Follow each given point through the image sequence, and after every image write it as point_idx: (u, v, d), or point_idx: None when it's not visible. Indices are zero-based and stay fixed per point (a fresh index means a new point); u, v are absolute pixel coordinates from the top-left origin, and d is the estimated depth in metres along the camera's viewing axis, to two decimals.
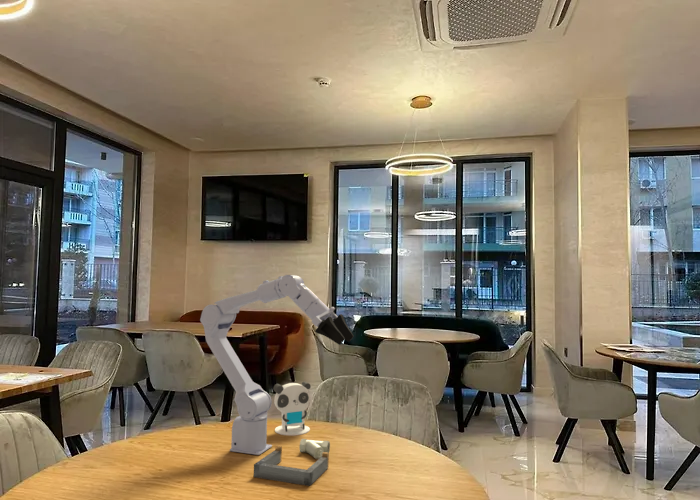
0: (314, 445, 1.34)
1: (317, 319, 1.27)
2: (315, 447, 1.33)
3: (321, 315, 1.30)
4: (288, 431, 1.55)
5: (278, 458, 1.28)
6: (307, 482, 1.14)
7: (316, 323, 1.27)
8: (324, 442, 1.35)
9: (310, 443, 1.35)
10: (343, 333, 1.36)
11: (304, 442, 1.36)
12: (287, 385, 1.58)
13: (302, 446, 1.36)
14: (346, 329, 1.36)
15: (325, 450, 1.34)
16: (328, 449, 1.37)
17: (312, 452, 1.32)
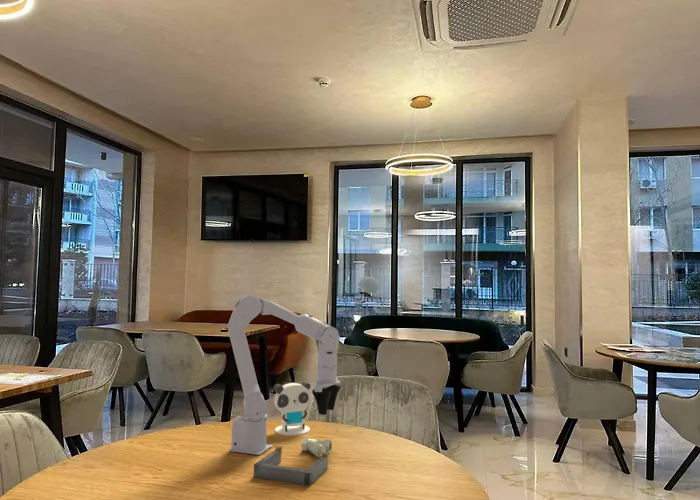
0: (316, 444, 1.35)
1: (319, 388, 1.38)
2: (317, 446, 1.34)
3: (325, 385, 1.40)
4: (288, 431, 1.55)
5: (278, 458, 1.28)
6: (307, 482, 1.14)
7: (316, 390, 1.39)
8: (326, 441, 1.37)
9: (312, 442, 1.36)
10: (328, 400, 1.48)
11: (306, 441, 1.37)
12: (287, 385, 1.58)
13: (304, 445, 1.37)
14: (333, 400, 1.47)
15: (327, 449, 1.35)
16: (330, 448, 1.38)
17: (314, 451, 1.33)
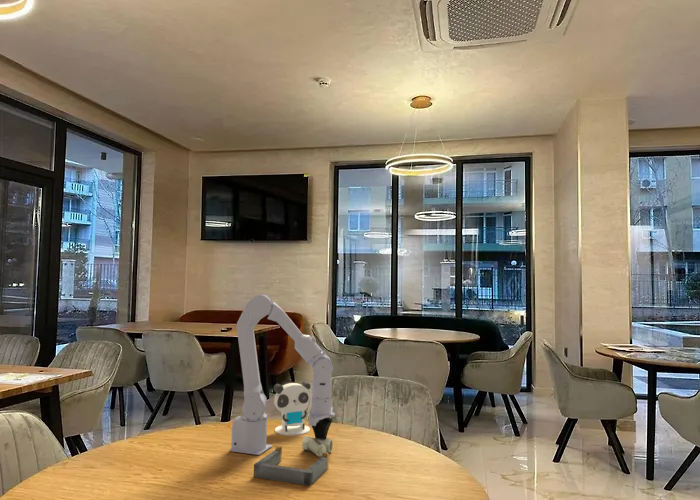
0: (316, 443, 1.35)
1: (313, 422, 1.34)
2: (317, 445, 1.34)
3: (319, 418, 1.36)
4: (288, 431, 1.55)
5: (278, 458, 1.28)
6: (307, 482, 1.14)
7: (310, 423, 1.34)
8: (327, 440, 1.37)
9: (313, 441, 1.36)
10: None
11: (307, 440, 1.38)
12: (287, 385, 1.58)
13: (305, 444, 1.37)
14: None
15: (327, 448, 1.35)
16: (331, 447, 1.38)
17: (314, 450, 1.33)
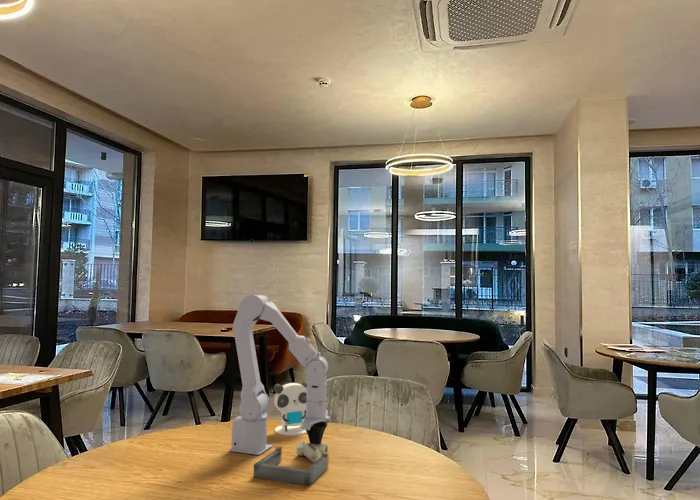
0: (311, 448, 1.31)
1: (307, 426, 1.30)
2: (312, 450, 1.30)
3: (314, 422, 1.32)
4: (288, 431, 1.55)
5: (278, 458, 1.28)
6: (307, 482, 1.14)
7: (304, 427, 1.30)
8: (322, 445, 1.33)
9: (307, 447, 1.32)
10: None
11: (301, 445, 1.34)
12: (287, 385, 1.58)
13: (299, 449, 1.33)
14: None
15: None
16: None
17: (309, 455, 1.29)
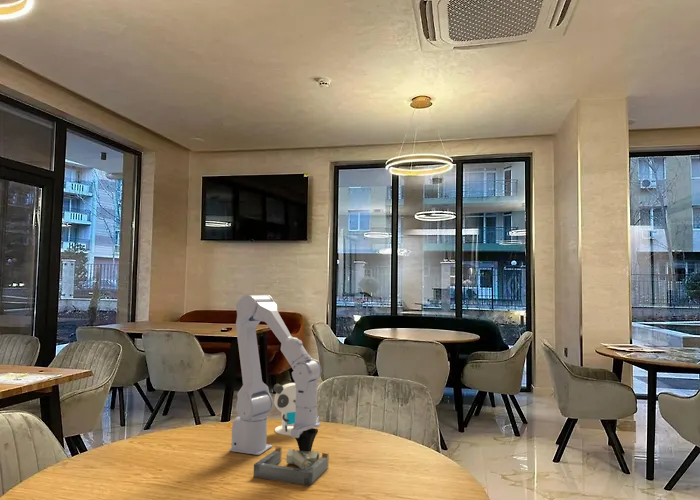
0: (302, 456, 1.24)
1: (296, 433, 1.23)
2: (303, 458, 1.23)
3: (303, 429, 1.25)
4: (288, 431, 1.55)
5: (278, 458, 1.28)
6: (307, 482, 1.14)
7: (293, 435, 1.24)
8: (313, 453, 1.26)
9: (298, 454, 1.25)
10: None
11: (291, 453, 1.27)
12: (287, 385, 1.58)
13: (289, 457, 1.26)
14: None
15: (314, 461, 1.25)
16: None
17: (300, 464, 1.23)
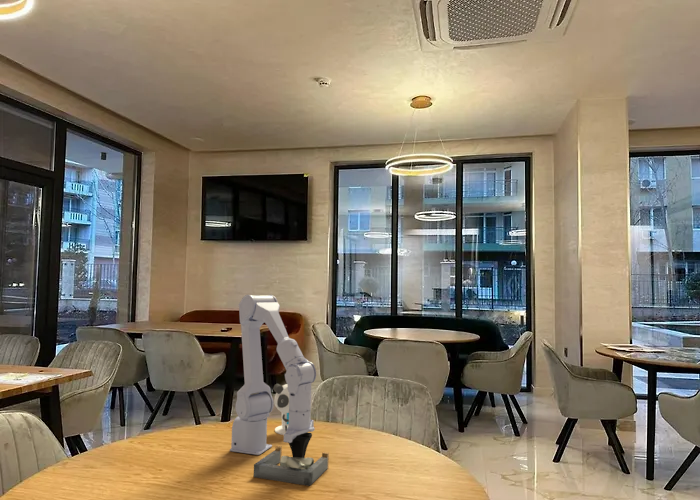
0: (296, 463, 1.20)
1: (289, 438, 1.19)
2: (298, 465, 1.19)
3: (296, 434, 1.21)
4: None
5: (278, 458, 1.28)
6: (307, 482, 1.14)
7: (286, 440, 1.20)
8: (307, 459, 1.22)
9: (292, 461, 1.21)
10: None
11: (285, 459, 1.22)
12: (287, 385, 1.58)
13: (283, 464, 1.22)
14: None
15: None
16: None
17: None
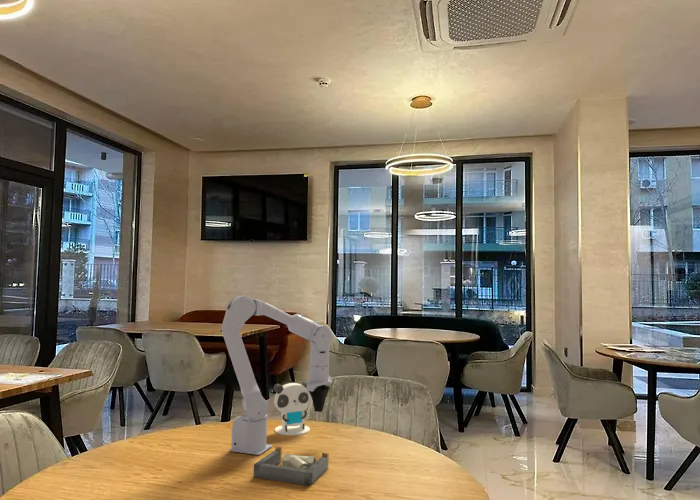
0: (298, 461, 1.21)
1: (311, 387, 1.39)
2: (300, 463, 1.20)
3: (317, 384, 1.41)
4: (288, 431, 1.55)
5: (278, 458, 1.28)
6: (307, 482, 1.14)
7: (308, 389, 1.39)
8: (309, 457, 1.23)
9: (294, 459, 1.22)
10: None
11: (287, 458, 1.24)
12: (287, 385, 1.58)
13: (285, 462, 1.23)
14: None
15: None
16: None
17: None
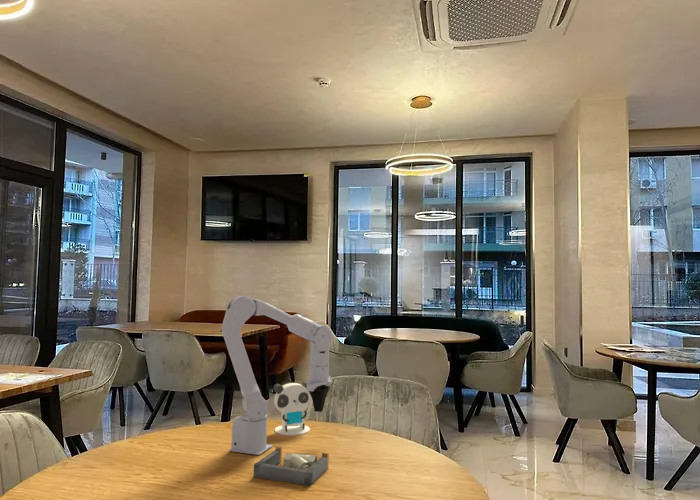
0: (300, 460, 1.22)
1: (311, 387, 1.39)
2: (301, 462, 1.21)
3: (317, 384, 1.41)
4: (288, 431, 1.55)
5: (278, 458, 1.28)
6: (307, 482, 1.14)
7: (308, 389, 1.39)
8: (311, 456, 1.24)
9: (296, 458, 1.23)
10: None
11: (289, 456, 1.25)
12: (287, 385, 1.58)
13: (287, 461, 1.24)
14: None
15: None
16: None
17: None
